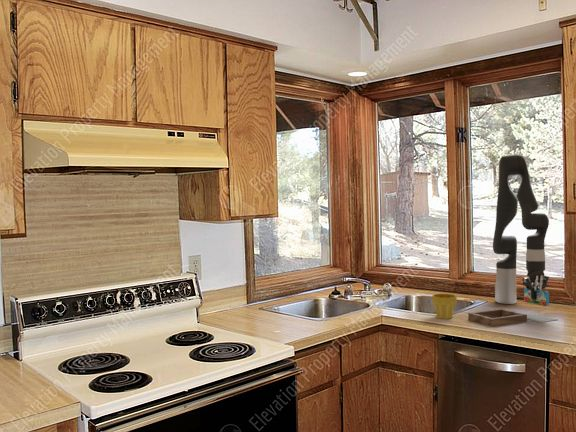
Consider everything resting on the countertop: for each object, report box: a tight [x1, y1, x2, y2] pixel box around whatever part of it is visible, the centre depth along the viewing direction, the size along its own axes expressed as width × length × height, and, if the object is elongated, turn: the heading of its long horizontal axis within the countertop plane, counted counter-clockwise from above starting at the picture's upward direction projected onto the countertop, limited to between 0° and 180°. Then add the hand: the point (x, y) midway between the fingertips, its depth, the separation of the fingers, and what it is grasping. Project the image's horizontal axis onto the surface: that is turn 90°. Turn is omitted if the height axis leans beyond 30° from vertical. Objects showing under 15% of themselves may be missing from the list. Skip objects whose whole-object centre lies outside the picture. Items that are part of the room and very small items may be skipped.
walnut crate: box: [467, 308, 528, 327], centre depth 237 cm, size 14×19×3 cm
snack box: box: [523, 287, 550, 307], centre depth 240 cm, size 12×2×6 cm, turn 23°
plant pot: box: [431, 292, 458, 320], centre depth 245 cm, size 10×10×10 cm
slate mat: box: [526, 312, 559, 323], centre depth 240 cm, size 14×10×1 cm
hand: (535, 299), depth 240 cm, fingers closed on snack box, 1 cm apart
